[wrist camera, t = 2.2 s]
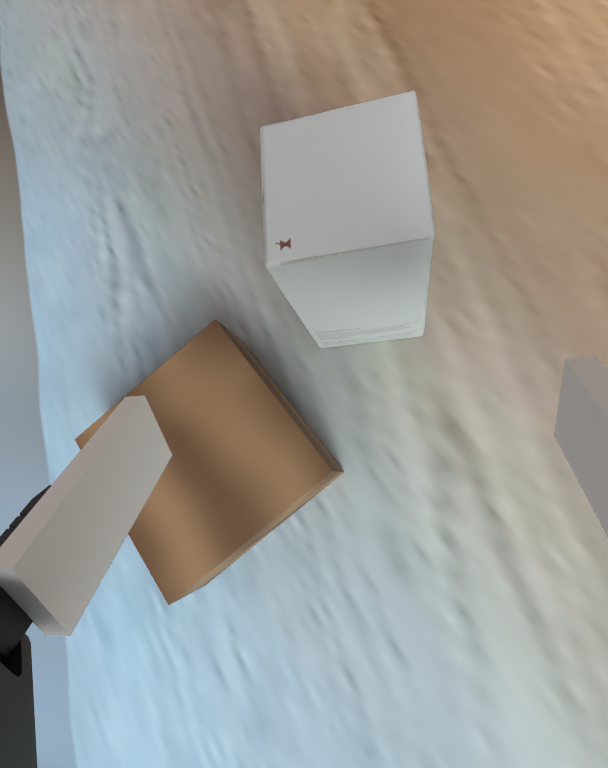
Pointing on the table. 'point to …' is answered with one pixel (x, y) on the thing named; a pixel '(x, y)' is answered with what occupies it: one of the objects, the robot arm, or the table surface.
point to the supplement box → (350, 220)
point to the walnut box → (220, 461)
